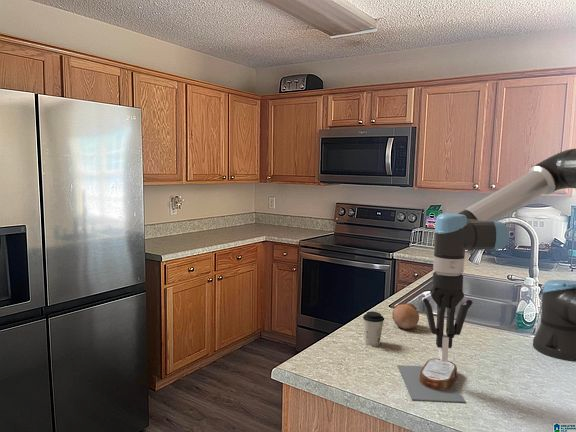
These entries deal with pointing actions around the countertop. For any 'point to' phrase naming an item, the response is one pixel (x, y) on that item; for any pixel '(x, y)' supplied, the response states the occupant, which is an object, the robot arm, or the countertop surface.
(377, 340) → the coffee cup
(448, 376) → the tin
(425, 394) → the mat
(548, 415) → the countertop surface
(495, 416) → the countertop surface
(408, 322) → the onion
